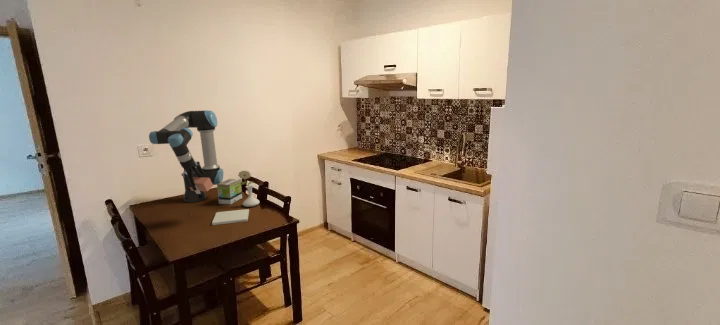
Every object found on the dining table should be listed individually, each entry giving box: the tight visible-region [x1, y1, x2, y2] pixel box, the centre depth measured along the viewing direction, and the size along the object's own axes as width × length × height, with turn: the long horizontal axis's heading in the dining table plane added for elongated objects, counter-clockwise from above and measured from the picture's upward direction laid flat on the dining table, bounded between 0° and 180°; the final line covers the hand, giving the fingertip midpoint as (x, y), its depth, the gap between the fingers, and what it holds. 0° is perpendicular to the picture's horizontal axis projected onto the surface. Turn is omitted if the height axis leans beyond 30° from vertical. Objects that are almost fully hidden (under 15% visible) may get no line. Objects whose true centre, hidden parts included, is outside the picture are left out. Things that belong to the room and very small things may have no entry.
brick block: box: [190, 177, 214, 192], centre depth 204 cm, size 6×6×12 cm
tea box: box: [216, 178, 243, 205], centre depth 238 cm, size 15×10×15 cm, turn 168°
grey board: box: [211, 208, 250, 226], centre depth 208 cm, size 18×20×2 cm
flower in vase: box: [238, 170, 260, 208], centre depth 228 cm, size 13×11×25 cm
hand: (201, 189), depth 206 cm, fingers closed on brick block, 6 cm apart
